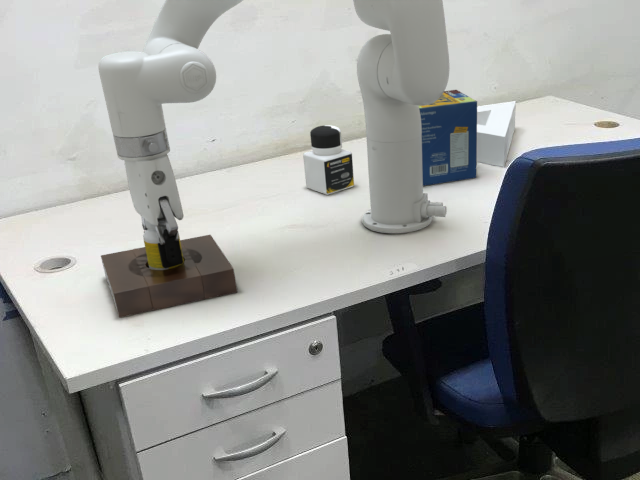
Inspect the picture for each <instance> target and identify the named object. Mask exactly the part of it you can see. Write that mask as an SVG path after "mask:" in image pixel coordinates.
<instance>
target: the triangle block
mask: <svg viewBox="0 0 640 480" xmlns="http://www.w3.org/2000/svg"><path fill="white" fill-rule="evenodd" d="M516 103H517V101H516V100H512V101H504V102H498V103H491V104H490V103H489V104H484V105H477V163H481V164H486V165H491V166H495V167H501V168H505V166H506V162H507V159H508V155H509V151H510V148H511V145H512V140H513V136H514V134H515V130H516V107H517V105H516Z"/></svg>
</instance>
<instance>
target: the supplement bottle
mask: <svg viewBox="0 0 640 480" xmlns="http://www.w3.org/2000/svg"><path fill="white" fill-rule="evenodd" d="M144 220H145V225H146V228H147V230H144V231H145V232H144V231H143V235H142V238H143V243H144V244H143V245H144V247H145V249H146V254H147V259H148V264H149V269H153V270H166V269H171V268H174V267H177V266H180V265H181V264H180V265H176V266H173V267H169V268H164V267H163V266H162V263H161V258H160V253H159V249H158V244H157V243H160V242H159V239H158V235H157V232H156V229H155V225H152V224H151V223H149V222H148V221H147V220H146V219H144ZM158 221H159V223H160V222H164V221H165V220H164V218H160V219H158ZM165 229H166V226H162V227H161V230H162V233H163V232H164V230H165ZM178 236H179V243H180V240H181V237H180V233H179V231H178ZM180 248H181V243H180ZM181 253H182V248H181ZM182 258H183V254H182ZM183 263H184V259H183ZM183 263H182V264H183Z"/></svg>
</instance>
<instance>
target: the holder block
mask: <svg viewBox="0 0 640 480" xmlns="http://www.w3.org/2000/svg"><path fill="white" fill-rule="evenodd" d="M180 243H181V248H182V254H183V259H184V263H183V264H181V265H180V266H177V267H174V268H171V269H166V270H153V269H149V264H148V259H147V254H146V249H145V246H143V247H138V248H133V249H127V250H122V251H117V252H112V253H106V254H100V259H101V263H102V268H103V272H104V275H105V279H106V282H107V285H108V288H109V292H110V294H111V297H112V300H113V303H114V307H115V309H116V313H117V315H118V318H125V317H129V316H133V315H134V316H135V315H139V314H143V313H147V312H152V311H157V310H161V309H166V308H170V307H171V308H172V307H176V306H180V305H185V304H190V303H194V302H199V301H203V300H209V299H213V298H217V297H222V296H227V295H232V294H236V293H238V287H237V280H236V274H235V269H234V267H233V265H232V264H231V263H230V261H229V259H228V258H227V257H226V255H225V254H224V252H223V251H222V249H221V248H220V246H219V245H218V243H217V242H216V240H215V239H214V237H213V236H212V234H206V235H201V236H195V237H191V238H185V239H180Z"/></svg>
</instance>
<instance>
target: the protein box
mask: <svg viewBox="0 0 640 480" xmlns="http://www.w3.org/2000/svg"><path fill="white" fill-rule="evenodd" d="M477 106H478V101H477V100H475V99H474V98H472V97H470V96H468V95H467V94H466V93H463V92H461V91H460V90H459V89H451V90H445V91H444V93H443V94H442V95H441V97H440V98H439V99H438V100H437V101H435V102H434V103H432V104H429V105H424V106H419V110H420V116H421V126H422V172H423V187H425V186H431V185H438V184H439V185H440V184H444V183H452V182H458V181H463V180H464V181H465V180H470V179H476V178H477V165H478V164H477V163H478V162H477Z"/></svg>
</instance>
